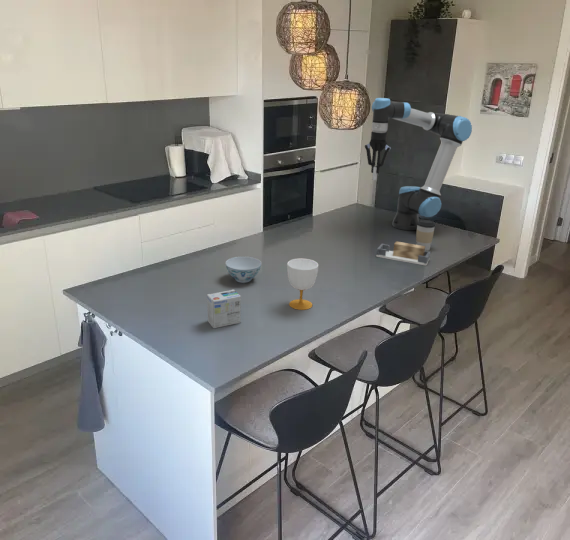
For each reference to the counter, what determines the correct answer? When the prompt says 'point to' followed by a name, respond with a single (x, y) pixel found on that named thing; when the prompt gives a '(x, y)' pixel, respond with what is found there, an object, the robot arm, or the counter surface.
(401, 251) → the tan rectangular block
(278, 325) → the counter surface
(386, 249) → the holder
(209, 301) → the light bulb box
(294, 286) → the cup
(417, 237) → the coffee cup
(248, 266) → the chinaware
